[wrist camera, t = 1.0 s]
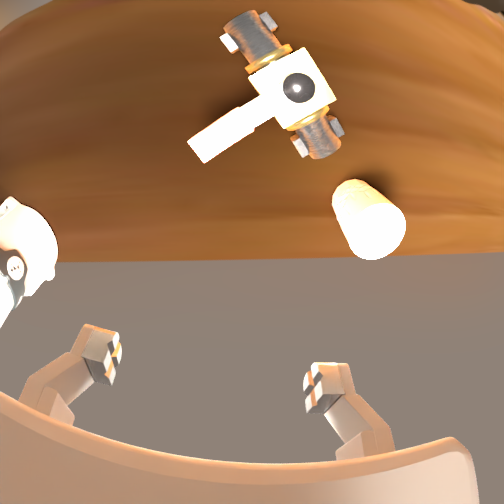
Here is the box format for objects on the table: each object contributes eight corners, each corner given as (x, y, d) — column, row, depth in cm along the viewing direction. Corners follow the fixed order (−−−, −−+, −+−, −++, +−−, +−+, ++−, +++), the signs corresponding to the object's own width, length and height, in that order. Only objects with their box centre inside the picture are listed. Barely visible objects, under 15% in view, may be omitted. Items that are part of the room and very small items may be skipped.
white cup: (384, 196, 41) (415, 227, 32) (351, 231, 44) (374, 269, 36) (352, 164, 38) (381, 190, 30) (317, 203, 41) (336, 239, 33)
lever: (301, 67, 24) (304, 67, 22) (317, 93, 25) (321, 94, 24) (189, 137, 28) (186, 140, 26) (207, 160, 29) (205, 164, 28)
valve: (340, 133, 36) (363, 147, 29) (299, 156, 38) (312, 175, 31) (262, 12, 26) (267, -6, 19) (216, 37, 28) (209, 25, 21)
